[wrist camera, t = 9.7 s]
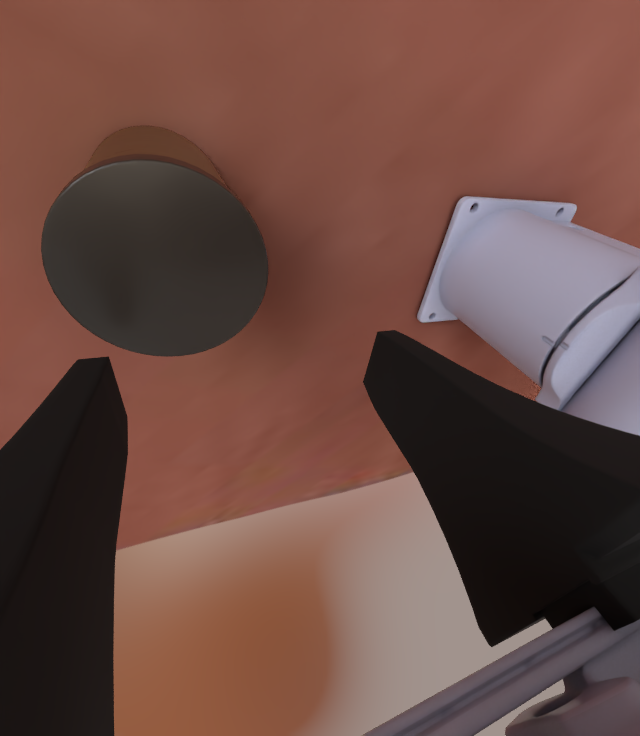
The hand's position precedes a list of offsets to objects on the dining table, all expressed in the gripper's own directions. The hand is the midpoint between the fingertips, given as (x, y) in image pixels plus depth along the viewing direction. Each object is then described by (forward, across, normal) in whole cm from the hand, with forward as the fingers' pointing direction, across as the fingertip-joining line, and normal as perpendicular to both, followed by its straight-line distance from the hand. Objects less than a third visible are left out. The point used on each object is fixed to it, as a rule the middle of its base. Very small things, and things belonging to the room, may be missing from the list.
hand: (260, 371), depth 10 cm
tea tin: (+9, +2, -2) cm, 10 cm away
